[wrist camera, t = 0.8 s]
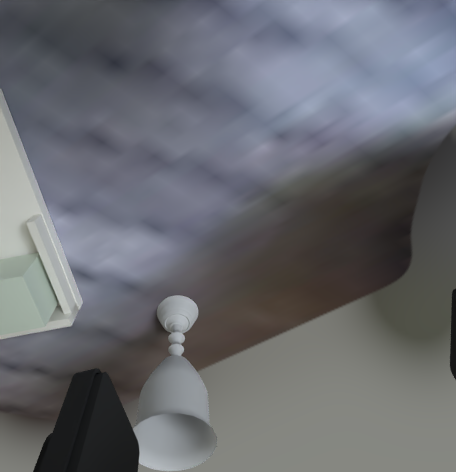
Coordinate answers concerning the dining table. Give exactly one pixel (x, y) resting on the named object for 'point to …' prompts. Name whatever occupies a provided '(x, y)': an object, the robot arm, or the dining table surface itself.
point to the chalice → (174, 401)
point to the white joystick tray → (29, 247)
